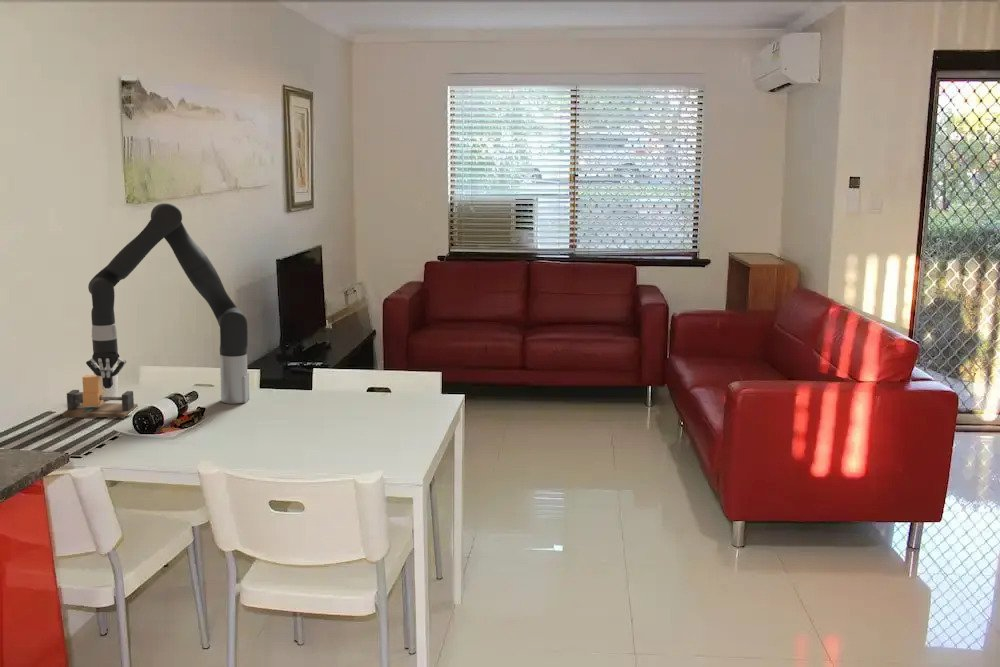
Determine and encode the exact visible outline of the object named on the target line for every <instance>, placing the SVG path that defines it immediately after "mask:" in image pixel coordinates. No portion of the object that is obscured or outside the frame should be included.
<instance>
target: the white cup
mask: <svg viewBox="0 0 1000 667" xmlns="http://www.w3.org/2000/svg"><path fill="white" fill-rule="evenodd" d="M115 369H116V367H115V368H113V371H114V370H115ZM93 375H96V374H95V373H94V372H93ZM118 376H119V373H118V374H117V375H115V376H113V386H111V388H105V387H103V381H102V390H103V396H106V397H118V388H119V386H118V385H119V383H118V382H119V380H118V379H119V377H118ZM101 379H102V377H101Z"/></svg>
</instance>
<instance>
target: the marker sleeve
mask: <svg viewBox="0 0 1000 667" xmlns="http://www.w3.org/2000/svg"><path fill="white" fill-rule="evenodd" d="M82 392H83V393H82V394H83V406H100V405H101V404H102V403H105V402H104V401H105V400H100V399H99V396H103V390H102V379H101V376H97V375H94V374H92V375H91V374H85V375H83V376H82Z"/></svg>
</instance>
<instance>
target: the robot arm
mask: <svg viewBox="0 0 1000 667" xmlns="http://www.w3.org/2000/svg"><path fill="white" fill-rule="evenodd" d="M148 221H149V222H148V223H147V224H146V226H145V227H144V228H143V229H142V230H141V231H140V232H139V234H138V235H136V236H135V237H134V238H133V239H132V240H131V241H129V242H128V243H127V244H126V245H125V246H124V247H123V248H122V249H121V250H119V252H118V253H116V255H115V256H114V257H113V258H112V259H111V261H109V263H108V264H107V265H106V266H105V267H103V268H102V269H101V270H100V271H99V272H98V273H96V275H94V276H93V278H91V280H90V281H89V283H88V288H87V289H88V292H89V293H90V295H91V301H92V302H91V303H92V304H91V305H92V309H91V338H92V339H91V341H92V352H93V354H92V357H91V358H90V359H89V360H87V361H86V362H85V364H86V365H87V366H88V368H89V369H90V370H91V371H92V372H93V374H94V373H95V374H96V375H97V376H101V377H102V381H103V387H105V388H111V386H113V376H115V375H117V374H118V375H119V373H120V372H121V370H122V369H123V367H124V366H125V365H126V363H127V360H125V359H122V358H121V357H120V354H119V353H118V335H117V332H118V331H117V327H116V318H115V317H116V315H115V296H116V295H115V286H116V285H118V283H119V282H120V281H121V280H124V279H126V278H127V277H128V276H129V275H130V274H131V273H132V272H133V271H135V270H134V269H136V268H137V266H139V265H140V263H141V262H142V261H143V259H145V258H146V256H147V255H148V254H149V253H150V252H151V251H152V249H153V248H155V246H157V245H158V243H160V241H162V240H163V239H165V241H166V243H167V244H169V246H170V248H171V249H172V252H173V254H174V256H175V257H176V259H177V261H178V263H179V265H180V267H181V268H182V270H183V272H184V274H185V275H186V278H187V279H189V282H190V283H191V284H192V286H193V287H194V288H195V290H196V291H197V292H198V293H199V294H200V296H201V297H202V298H203V299H204V300H205V302H206V303H207V304H208V306H209V307H210V309H211V311H212V312H213V314H214V317H215V318H216V320H217V321H216V322H217V324H218V326H219V335H220V336H219V340H220V341H219V343H220V344H219V366H220V367H219V368H220V370H219V371H220V374H219V376H220V399H221V400H220V401H221V402H222V403H224V404H230V405H231V404H232V405H233V404H234V405H235V404H242V403H243V404H245V403H247V402H248V401H249V400H250V373H249V372H248V345H249V344H248V343H249V342H248V336H249V334H248V319H247V317H246V316H245V314H244V313H243V311H241V310H240V308H239V307H238V306H237V305H236V303H234V301H233V299H231V297H230V295H229V294H228V293H227V291H226V289H225V287H224V285H223V284H224V283H223V282H222V280H221V278H220V276H219V274H218V272H217V270H216V269H215V266H214V265H213V263H212V262H211V261H210V258H208V256H207V255H206V253H205V252H204V251H203V250H202V248H201V247H200V246H199V245H198V244H197V243H196V242H195V241H194V240H193V239H192V237H191V236H190V234H189V233H188V231H187V229H186V228H185V226H184V224H183V214H182V212H181V210H180V208H179V207H177V206H176V205H174V204H172V203H165V202H164V203H160V204H157V205H155V206H154V207H153V208H152V210H151V212H150V220H148ZM115 365H117V366H116V367H115V370H114V371H113V368H114V366H115Z"/></svg>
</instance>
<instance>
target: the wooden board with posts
mask: <svg viewBox="0 0 1000 667" xmlns="http://www.w3.org/2000/svg"><path fill="white" fill-rule="evenodd" d="M82 393H83V391H82V392H81V391H80V389H72V390H70V391H69V392H67V393H66V405H67V409H66V410H65V411H63V412H62V416H63V418H87V417H125V416H127V415H128V414H129V413H130V412H131V411H133V410H134V409H135V408H136V407H139V406H138V403H134V400H135V398H134V390H127V391H125V392H124V393H122V394H121V396H117V397H106V396H99V399H100V400H104V401H121V403H119V402H117V403H115V402H114V403H111V402H110V403H109V402H104V403H102V404H101V405H100V406H83V394H82ZM128 416H129V415H128ZM128 416H127V417H128Z"/></svg>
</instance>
